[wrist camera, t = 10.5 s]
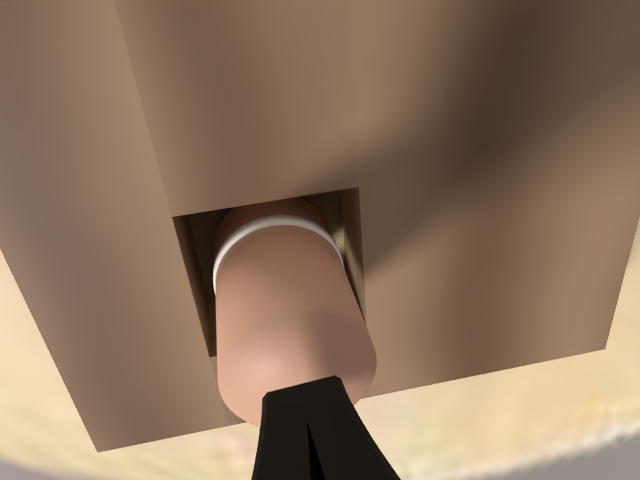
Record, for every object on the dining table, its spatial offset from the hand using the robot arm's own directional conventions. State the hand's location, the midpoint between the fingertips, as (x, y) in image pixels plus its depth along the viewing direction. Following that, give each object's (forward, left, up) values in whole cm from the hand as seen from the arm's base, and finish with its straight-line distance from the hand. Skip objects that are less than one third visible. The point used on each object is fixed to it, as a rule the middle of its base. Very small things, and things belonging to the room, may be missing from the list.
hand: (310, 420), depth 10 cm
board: (-2, -1, -7) cm, 7 cm away
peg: (0, 0, -7) cm, 7 cm away
